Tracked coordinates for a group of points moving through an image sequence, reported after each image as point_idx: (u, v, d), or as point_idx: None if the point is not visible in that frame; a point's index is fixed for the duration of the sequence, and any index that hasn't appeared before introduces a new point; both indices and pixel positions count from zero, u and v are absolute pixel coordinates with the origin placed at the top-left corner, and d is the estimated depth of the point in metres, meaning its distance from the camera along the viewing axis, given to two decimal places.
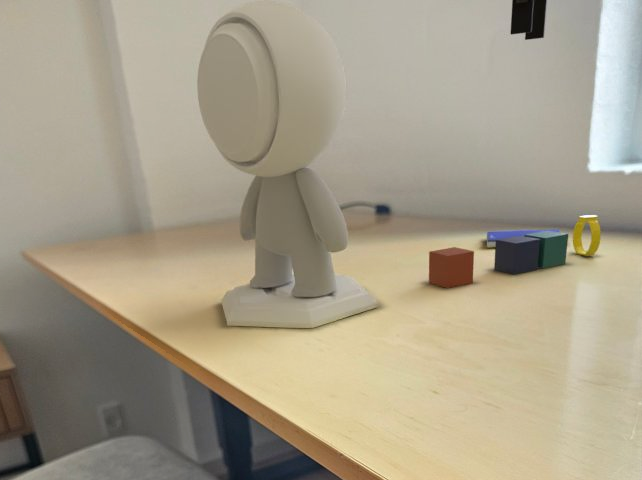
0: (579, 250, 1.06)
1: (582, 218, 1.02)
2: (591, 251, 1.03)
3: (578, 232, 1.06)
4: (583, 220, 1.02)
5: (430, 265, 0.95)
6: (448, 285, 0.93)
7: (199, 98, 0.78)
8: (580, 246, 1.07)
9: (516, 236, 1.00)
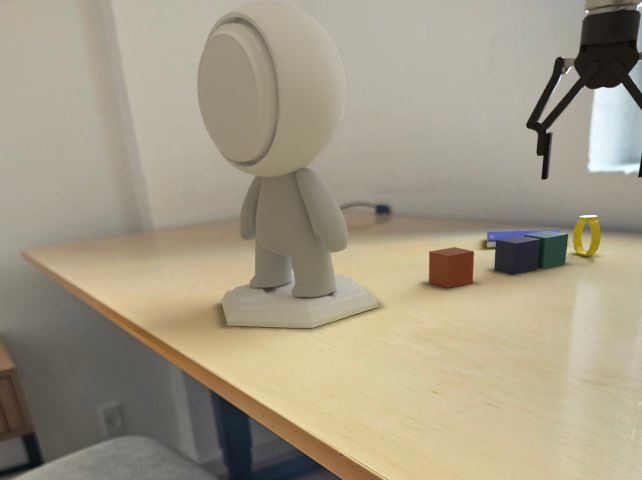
0: (579, 250, 1.06)
1: (582, 218, 1.02)
2: (591, 251, 1.03)
3: (578, 232, 1.06)
4: (583, 220, 1.02)
5: (430, 265, 0.95)
6: (448, 285, 0.93)
7: (199, 98, 0.78)
8: (580, 246, 1.07)
9: (516, 236, 1.00)
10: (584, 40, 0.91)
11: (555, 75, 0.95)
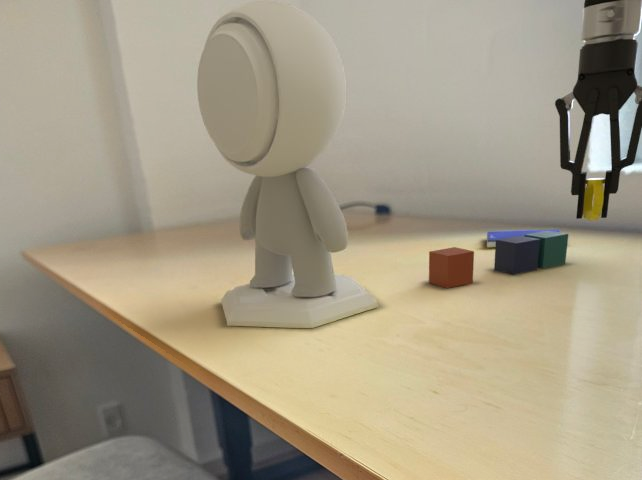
0: (587, 215, 1.03)
1: (587, 180, 1.00)
2: (594, 215, 1.00)
3: (589, 196, 1.03)
4: (588, 183, 1.00)
5: (430, 265, 0.95)
6: (448, 285, 0.93)
7: (199, 98, 0.78)
8: (589, 211, 1.04)
9: (516, 236, 1.00)
10: (582, 69, 0.93)
11: (562, 115, 0.97)
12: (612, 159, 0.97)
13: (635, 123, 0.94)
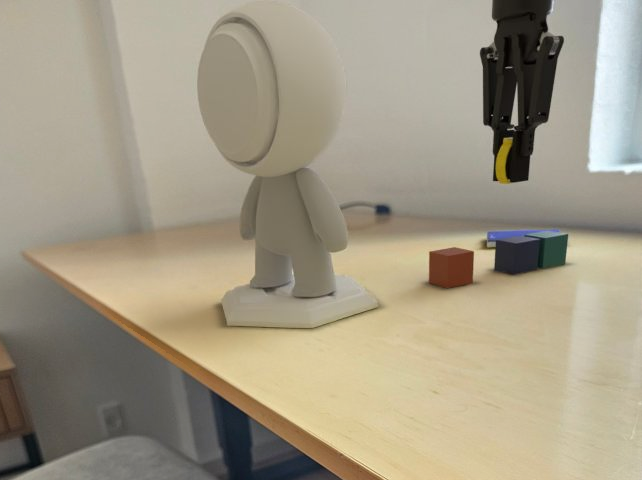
0: None
1: (503, 139, 0.92)
2: (499, 178, 0.92)
3: None
4: (503, 142, 0.92)
5: (430, 265, 0.95)
6: (448, 285, 0.93)
7: (199, 98, 0.78)
8: None
9: (516, 236, 1.00)
10: None
11: (485, 65, 0.91)
12: (518, 116, 0.88)
13: (535, 76, 0.84)
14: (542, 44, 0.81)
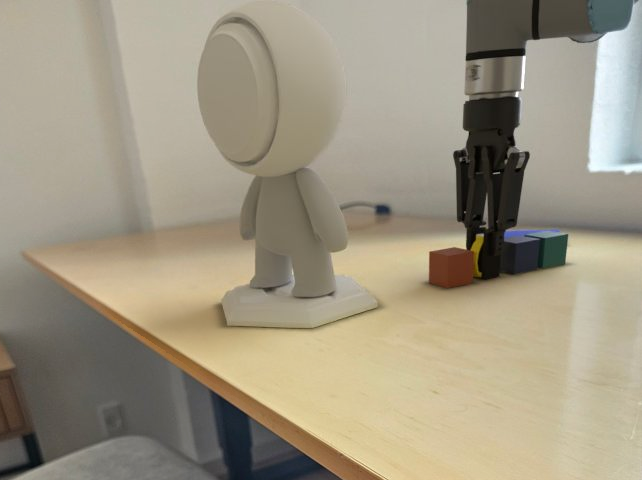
0: None
1: (476, 236, 0.96)
2: None
3: None
4: None
5: (430, 265, 0.95)
6: (448, 285, 0.93)
7: (199, 98, 0.78)
8: None
9: (516, 236, 1.00)
10: None
11: (458, 167, 0.95)
12: (488, 220, 0.92)
13: (503, 186, 0.88)
14: (509, 159, 0.85)
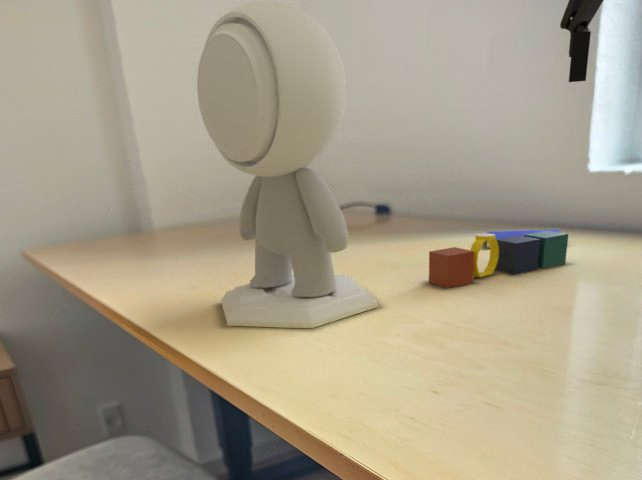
0: (487, 270, 0.98)
1: None
2: None
3: (494, 251, 0.98)
4: None
5: (430, 265, 0.95)
6: (448, 285, 0.93)
7: (199, 98, 0.78)
8: (492, 267, 0.98)
9: (516, 236, 1.00)
10: None
11: None
12: None
13: None
14: None
